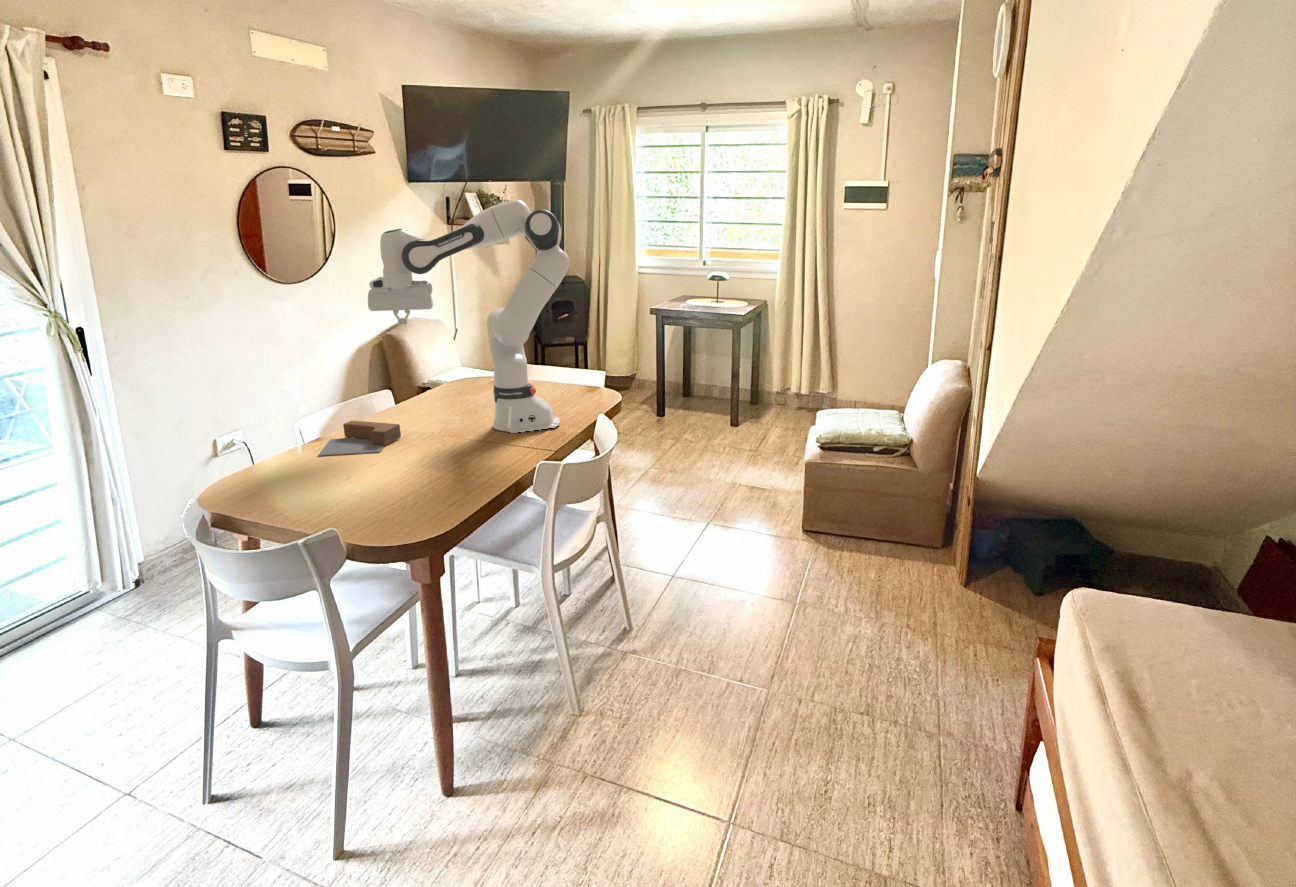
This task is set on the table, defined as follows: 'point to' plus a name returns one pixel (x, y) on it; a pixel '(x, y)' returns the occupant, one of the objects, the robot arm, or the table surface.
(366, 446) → the mat
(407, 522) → the table surface
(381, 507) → the table surface
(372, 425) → the wooden block
